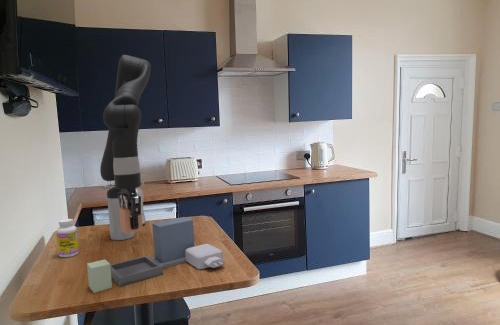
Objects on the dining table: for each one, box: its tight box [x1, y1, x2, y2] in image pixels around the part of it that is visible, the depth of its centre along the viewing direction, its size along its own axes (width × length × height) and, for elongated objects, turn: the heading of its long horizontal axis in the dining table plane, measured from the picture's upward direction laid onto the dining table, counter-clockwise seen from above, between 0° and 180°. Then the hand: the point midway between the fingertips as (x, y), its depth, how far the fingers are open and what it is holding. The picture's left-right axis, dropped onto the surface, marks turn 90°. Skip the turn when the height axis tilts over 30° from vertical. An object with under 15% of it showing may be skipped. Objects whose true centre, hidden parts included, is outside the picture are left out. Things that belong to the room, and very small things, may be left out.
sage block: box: [86, 258, 113, 294], centre depth 106 cm, size 5×5×7 cm
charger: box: [185, 243, 225, 270], centre depth 120 cm, size 5×9×15 cm
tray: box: [110, 255, 164, 288], centre depth 116 cm, size 13×13×2 cm
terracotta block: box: [119, 206, 144, 233], centre depth 114 cm, size 5×5×7 cm
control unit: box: [150, 216, 196, 269], centre depth 126 cm, size 10×14×13 cm
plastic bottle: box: [136, 187, 146, 226], centre depth 173 cm, size 6×7×20 cm
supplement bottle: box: [56, 218, 79, 258], centre depth 136 cm, size 7×7×13 cm
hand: (131, 227), depth 114 cm, fingers closed on terracotta block, 5 cm apart
